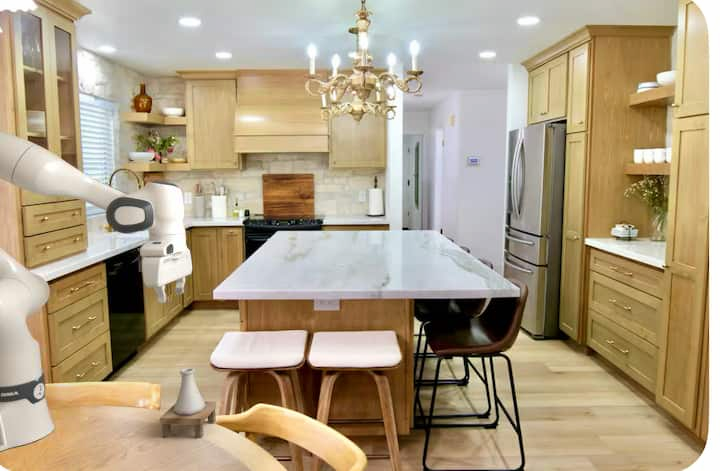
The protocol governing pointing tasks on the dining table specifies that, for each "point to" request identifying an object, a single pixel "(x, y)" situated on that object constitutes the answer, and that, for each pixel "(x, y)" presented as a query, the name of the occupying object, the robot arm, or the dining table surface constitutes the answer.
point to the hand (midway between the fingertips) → (171, 298)
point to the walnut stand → (188, 419)
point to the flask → (188, 395)
